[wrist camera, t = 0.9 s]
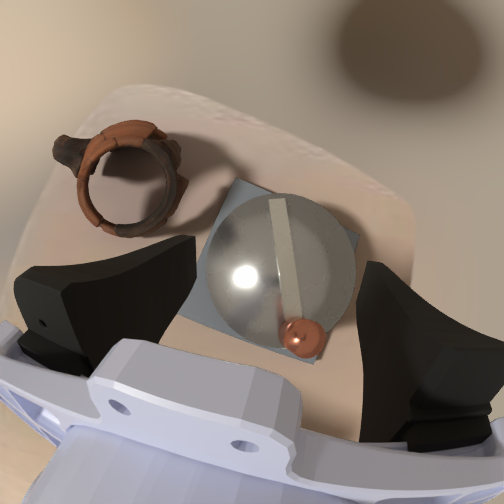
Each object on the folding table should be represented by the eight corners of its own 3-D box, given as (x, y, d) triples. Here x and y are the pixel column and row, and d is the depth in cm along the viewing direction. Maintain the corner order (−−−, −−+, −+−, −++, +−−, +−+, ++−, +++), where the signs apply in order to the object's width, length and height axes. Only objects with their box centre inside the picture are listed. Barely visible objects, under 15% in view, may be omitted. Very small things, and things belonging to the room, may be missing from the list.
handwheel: (311, 358, 23) (341, 376, 17) (184, 310, 22) (176, 317, 16) (355, 237, 24) (392, 223, 19) (239, 183, 23) (248, 152, 18)
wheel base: (309, 361, 24) (314, 365, 22) (177, 312, 23) (175, 313, 21) (354, 236, 26) (361, 234, 25) (234, 181, 25) (235, 175, 23)
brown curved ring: (198, 138, 25) (208, 139, 18) (167, 230, 28) (166, 265, 21) (82, 106, 21) (48, 98, 14) (58, 200, 24) (22, 226, 16)
